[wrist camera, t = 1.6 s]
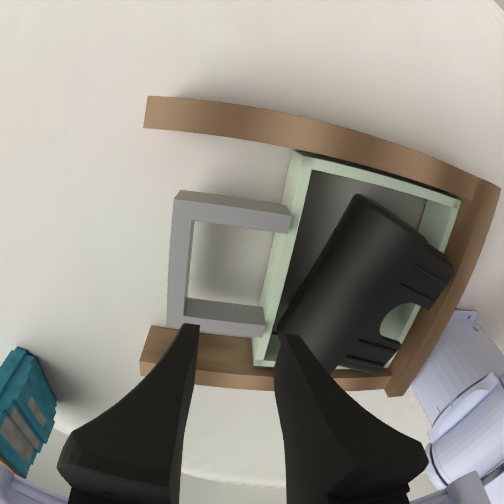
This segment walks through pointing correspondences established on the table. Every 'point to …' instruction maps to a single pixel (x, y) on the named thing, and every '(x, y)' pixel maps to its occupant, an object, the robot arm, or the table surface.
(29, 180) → the table surface
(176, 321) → the pull tray
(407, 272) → the end cap
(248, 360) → the brown wooden frame
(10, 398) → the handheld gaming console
